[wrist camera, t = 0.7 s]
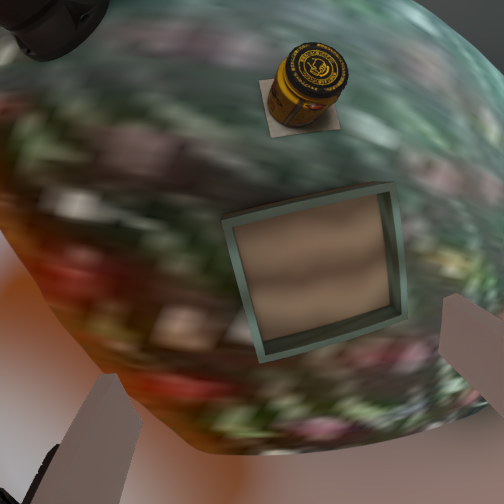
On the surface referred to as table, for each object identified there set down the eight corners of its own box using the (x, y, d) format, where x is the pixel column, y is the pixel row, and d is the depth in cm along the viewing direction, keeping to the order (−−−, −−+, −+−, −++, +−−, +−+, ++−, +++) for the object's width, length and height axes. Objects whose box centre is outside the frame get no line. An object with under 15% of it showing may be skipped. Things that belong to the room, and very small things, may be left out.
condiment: (258, 80, 31) (269, 34, 19) (326, 74, 31) (364, 33, 19) (270, 138, 32) (288, 114, 21) (339, 129, 32) (386, 107, 21)
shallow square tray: (224, 212, 34) (220, 220, 26) (362, 181, 34) (394, 181, 26) (254, 328, 37) (259, 363, 29) (378, 294, 37) (407, 318, 29)
